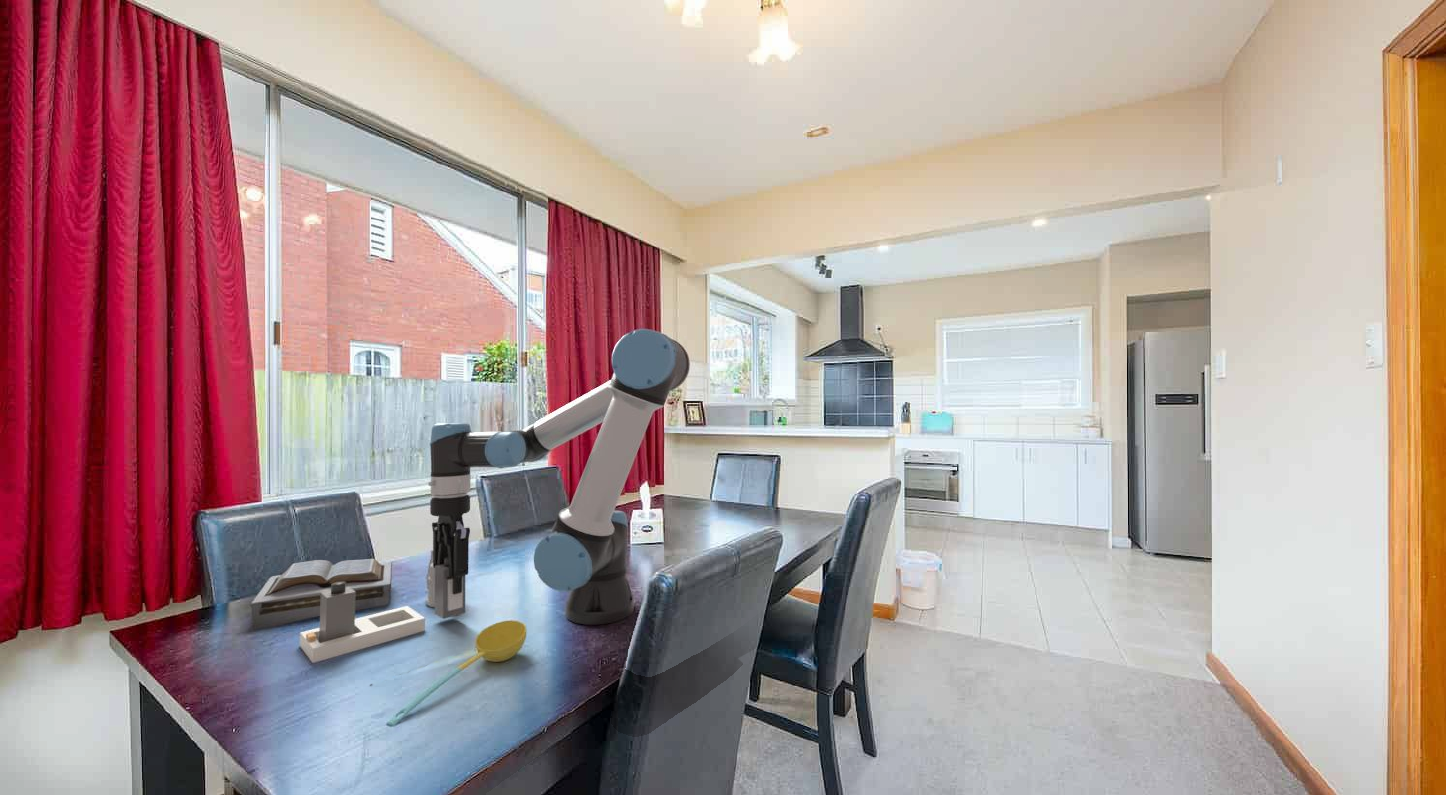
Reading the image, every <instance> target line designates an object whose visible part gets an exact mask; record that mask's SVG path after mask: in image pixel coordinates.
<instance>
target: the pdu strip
mask: <svg viewBox="0 0 1446 795" xmlns="http://www.w3.org/2000/svg"><path fill="white" fill-rule="evenodd" d="M319 628H320V627H316V628H313V629H309V630H305V631H301V632H299V634H300V635H299V648H301V649H302V651H303V652H304V654H305V655H306V657H307V658H308V659H309V661H310V662H311V663H312V664H315V663H318V662H322V661H325V660H329V659H333V658H336V657H340V656H343V655H346V654H349V653H354V652H357V651H360V650H364V649H367V648H370V647H375V646H377V645H381V644H385V643H388V642H391V641H394V640H398V639H402V638H405V637H408V636H412V635H416V634H419V633H421V632H422V633H423V632H425V631H426V617H425V616H423V615H422V614H420V613H418V612H417V611H416V610H415V609H413V608H411V607H410V606H408V605H405V606H402V607H397V608H394V609H389V610H385V611H380V612H377V613H374V614H369V615H365V616H360V617H358V618H357V617H355V624H354V634H352V635H348V636H344V637H341V638H337V639H333V640H330V641H326V642H322V643H319Z"/></svg>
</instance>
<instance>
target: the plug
mask: <svg viewBox="0 0 1446 795" xmlns="http://www.w3.org/2000/svg"><path fill="white" fill-rule="evenodd" d="M449 576H450V571H449V559H448V557H446V558H444V564H441V565H437V566H435V607H434V615H436V616H437V617H440V618H441V619H443V620H444V619H448V618H451V617H453V616H457V615H461V614H464V613H466V575H464V576H463V607H461V608H458V609H454V610H451V611H448V580H447V579H446V577H449Z"/></svg>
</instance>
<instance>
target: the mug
mask: <svg viewBox="0 0 1446 795" xmlns="http://www.w3.org/2000/svg"><path fill="white" fill-rule="evenodd" d="M428 563H429V564H428V567H427V568H428V569H427V573H426V589H427V590H428V592H427V594H428V595H427V597H426V598H425V605H427V606H428V607H430V608H435V568H434V567H433V549H432V550H431V551H430V559H429V562H428Z"/></svg>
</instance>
